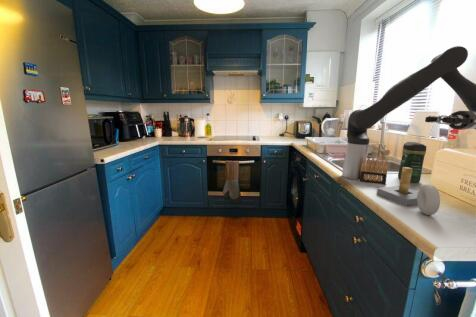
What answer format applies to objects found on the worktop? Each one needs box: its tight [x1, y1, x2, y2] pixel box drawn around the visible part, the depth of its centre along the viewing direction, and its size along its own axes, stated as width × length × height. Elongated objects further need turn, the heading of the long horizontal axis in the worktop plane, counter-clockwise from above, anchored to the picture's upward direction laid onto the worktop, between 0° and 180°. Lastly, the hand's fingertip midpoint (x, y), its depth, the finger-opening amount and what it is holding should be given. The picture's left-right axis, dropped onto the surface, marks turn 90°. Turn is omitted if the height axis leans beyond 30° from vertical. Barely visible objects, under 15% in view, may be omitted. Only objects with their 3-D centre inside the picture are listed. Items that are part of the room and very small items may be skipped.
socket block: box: [376, 184, 419, 207], centre depth 87 cm, size 12×12×2 cm
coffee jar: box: [397, 141, 427, 183], centre depth 108 cm, size 10×8×19 cm
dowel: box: [398, 167, 412, 195], centre depth 86 cm, size 3×3×12 cm
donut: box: [417, 183, 441, 216], centre depth 73 cm, size 10×3×10 cm, turn 161°
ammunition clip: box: [358, 156, 389, 186], centre depth 104 cm, size 11×2×12 cm, turn 65°
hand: (438, 119), depth 87 cm, fingers open, 8 cm apart
